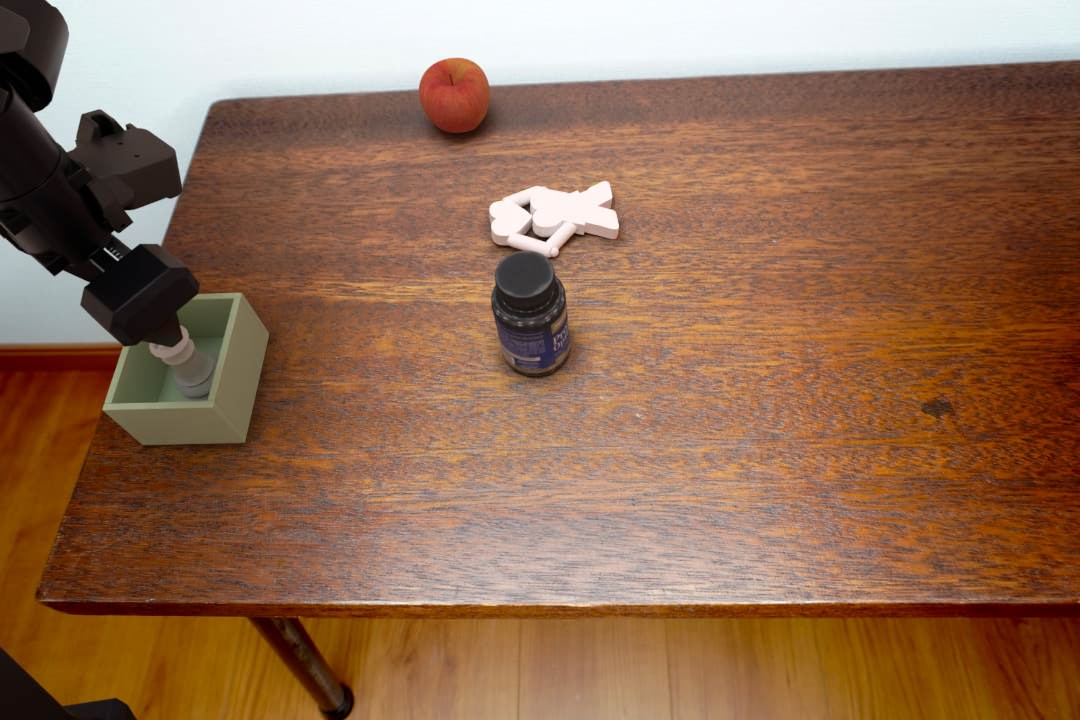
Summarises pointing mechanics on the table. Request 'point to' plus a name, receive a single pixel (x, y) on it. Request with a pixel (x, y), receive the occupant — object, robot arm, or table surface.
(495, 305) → the pill bottle
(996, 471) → the table surface
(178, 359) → the rook chess piece
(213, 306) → the bin
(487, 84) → the apple
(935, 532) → the table surface
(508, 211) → the white abstract figurine
